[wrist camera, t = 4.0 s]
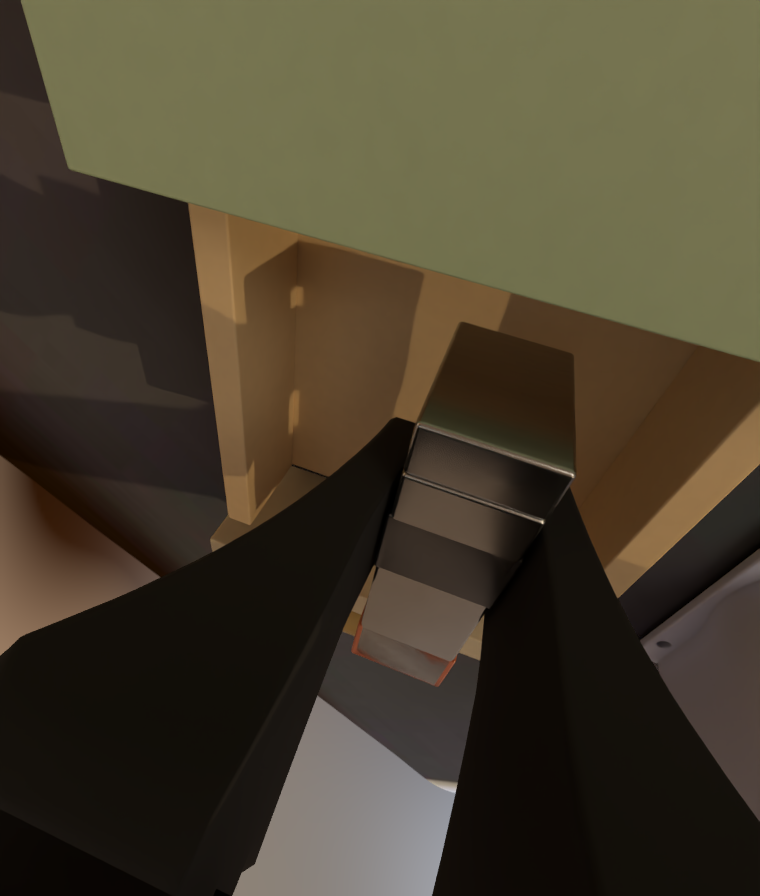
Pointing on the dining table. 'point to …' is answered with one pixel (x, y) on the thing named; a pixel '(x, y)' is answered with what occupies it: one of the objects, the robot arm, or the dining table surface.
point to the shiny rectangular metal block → (469, 497)
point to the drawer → (413, 371)
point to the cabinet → (447, 137)
